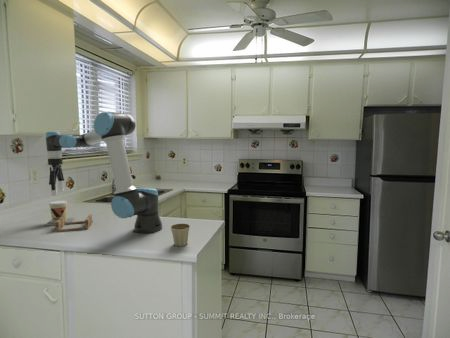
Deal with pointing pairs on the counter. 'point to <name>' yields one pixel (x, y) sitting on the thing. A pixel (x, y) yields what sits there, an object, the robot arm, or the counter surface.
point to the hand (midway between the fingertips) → (57, 193)
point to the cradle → (61, 223)
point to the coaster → (55, 224)
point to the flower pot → (180, 234)
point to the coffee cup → (58, 210)
